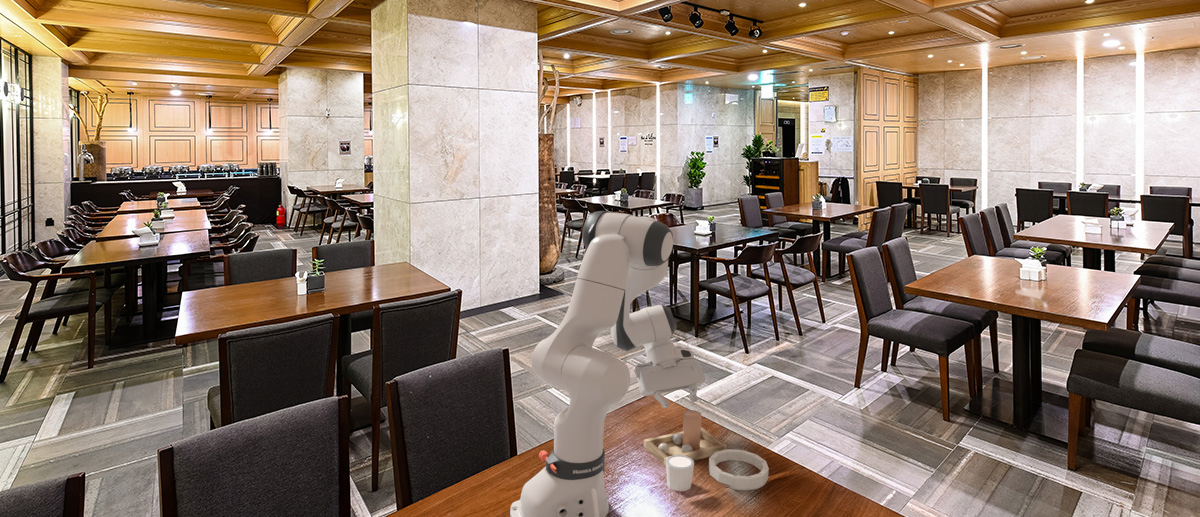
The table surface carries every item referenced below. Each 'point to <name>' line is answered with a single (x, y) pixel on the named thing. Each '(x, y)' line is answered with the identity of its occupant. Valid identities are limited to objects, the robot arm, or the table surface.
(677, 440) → the pebble
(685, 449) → the pebble
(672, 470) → the shot glass
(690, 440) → the peach cylinder
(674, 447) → the parts tray
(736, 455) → the bowl
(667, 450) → the pebble
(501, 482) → the table surface
